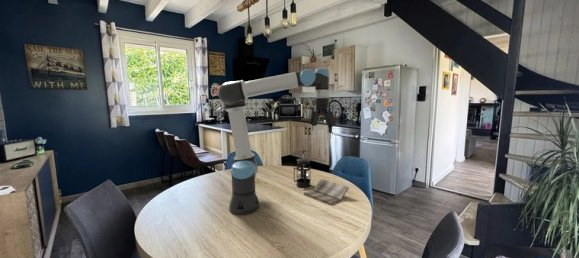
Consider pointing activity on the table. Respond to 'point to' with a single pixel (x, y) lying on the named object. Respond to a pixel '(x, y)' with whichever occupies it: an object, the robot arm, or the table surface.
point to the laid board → (322, 197)
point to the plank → (331, 188)
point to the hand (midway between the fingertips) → (321, 137)
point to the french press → (303, 172)
